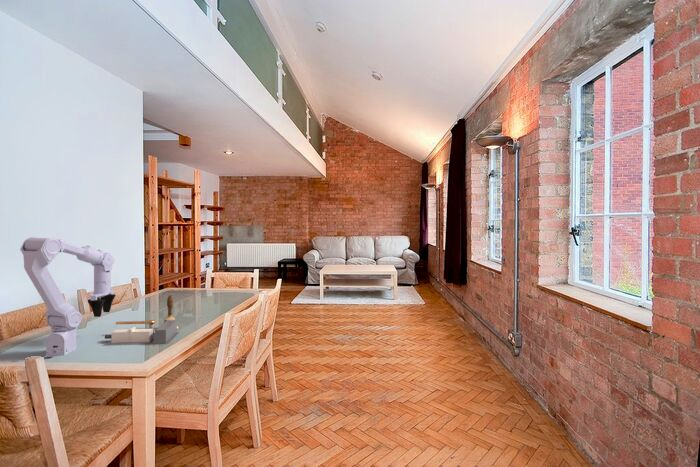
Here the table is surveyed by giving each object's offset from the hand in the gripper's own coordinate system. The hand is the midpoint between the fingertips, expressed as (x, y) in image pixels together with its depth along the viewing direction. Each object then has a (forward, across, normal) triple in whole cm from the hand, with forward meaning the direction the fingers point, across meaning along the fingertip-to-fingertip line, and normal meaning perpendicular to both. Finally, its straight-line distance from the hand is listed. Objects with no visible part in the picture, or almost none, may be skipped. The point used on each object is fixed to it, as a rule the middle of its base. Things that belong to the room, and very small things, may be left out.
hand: (102, 314), depth 153 cm
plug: (+10, -6, -12) cm, 17 cm away
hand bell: (+11, +11, -23) cm, 28 cm away
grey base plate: (+10, -4, -17) cm, 20 cm away
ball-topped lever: (+5, +3, -12) cm, 13 cm away
